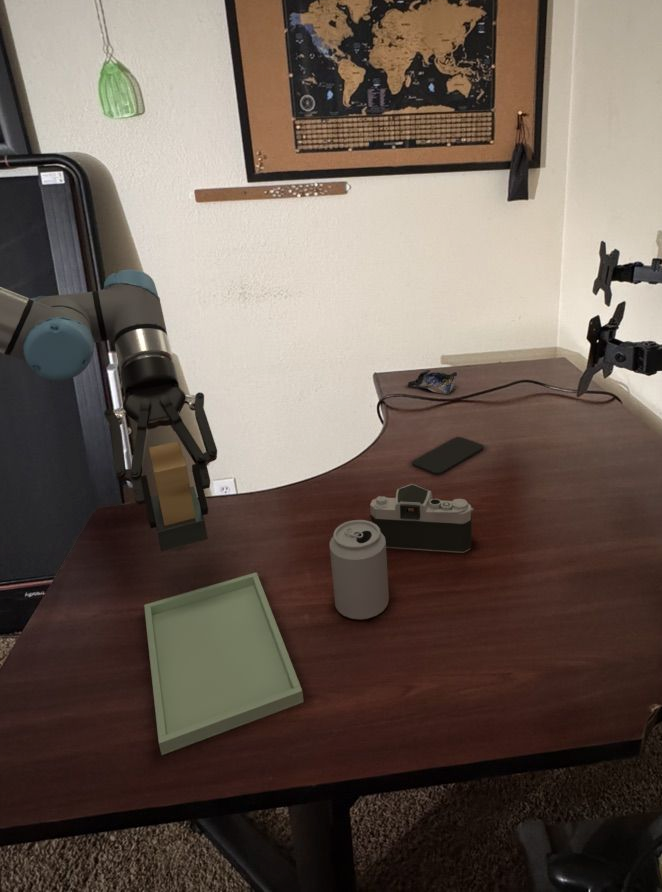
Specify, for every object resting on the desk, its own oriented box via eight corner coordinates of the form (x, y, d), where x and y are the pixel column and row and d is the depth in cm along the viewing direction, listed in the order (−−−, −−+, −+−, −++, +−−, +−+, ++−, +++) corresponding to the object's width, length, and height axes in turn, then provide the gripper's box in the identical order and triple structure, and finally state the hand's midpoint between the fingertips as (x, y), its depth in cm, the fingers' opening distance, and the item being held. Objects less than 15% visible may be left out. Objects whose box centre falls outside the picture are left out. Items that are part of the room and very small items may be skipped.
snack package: (415, 400, 156) (461, 393, 157) (413, 375, 154) (459, 368, 156) (405, 391, 167) (448, 385, 169) (403, 367, 166) (446, 361, 168)
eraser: (154, 514, 91) (140, 446, 87) (196, 503, 93) (184, 436, 89) (161, 551, 82) (146, 477, 78) (207, 539, 84) (195, 466, 81)
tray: (146, 616, 87) (144, 604, 86) (258, 583, 92) (256, 571, 92) (162, 757, 66) (158, 743, 66) (304, 704, 72) (302, 690, 71)
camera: (474, 526, 103) (475, 472, 100) (472, 558, 95) (472, 501, 92) (379, 521, 106) (376, 468, 103) (369, 551, 98) (366, 496, 95)
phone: (409, 462, 123) (457, 435, 133) (409, 465, 124) (457, 439, 133) (438, 474, 118) (486, 445, 128) (438, 478, 119) (486, 449, 128)
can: (377, 629, 82) (373, 552, 78) (326, 617, 85) (318, 542, 81) (396, 593, 89) (393, 520, 85) (347, 583, 91) (342, 512, 87)
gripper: (212, 367, 98) (248, 508, 90) (80, 390, 91) (106, 544, 83) (213, 343, 92) (252, 492, 83) (71, 366, 85) (98, 531, 77)
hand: (179, 518), depth 83 cm, fingers closed on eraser, 6 cm apart
